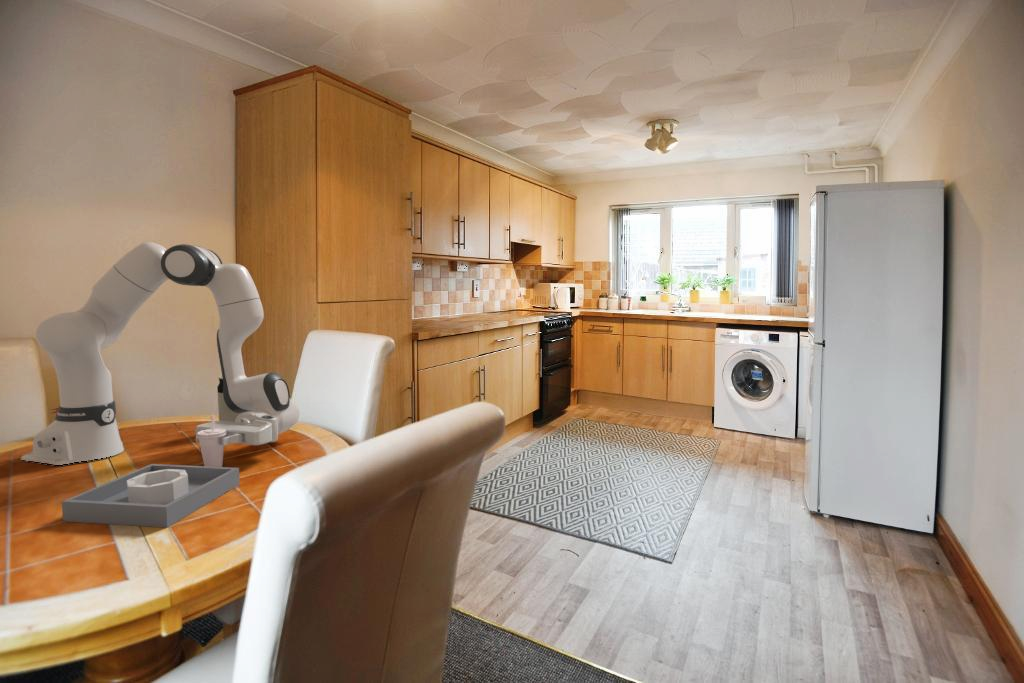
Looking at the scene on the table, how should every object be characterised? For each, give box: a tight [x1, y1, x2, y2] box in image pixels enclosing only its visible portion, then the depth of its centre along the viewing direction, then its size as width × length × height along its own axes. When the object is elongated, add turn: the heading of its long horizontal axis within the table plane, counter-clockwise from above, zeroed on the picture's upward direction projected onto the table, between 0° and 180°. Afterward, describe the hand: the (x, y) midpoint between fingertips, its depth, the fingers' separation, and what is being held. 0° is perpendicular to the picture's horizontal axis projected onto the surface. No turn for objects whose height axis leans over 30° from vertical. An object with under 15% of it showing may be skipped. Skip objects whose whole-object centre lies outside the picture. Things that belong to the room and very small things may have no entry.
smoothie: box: [197, 413, 226, 467], centre depth 130 cm, size 6×6×14 cm
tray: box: [61, 463, 241, 528], centre depth 110 cm, size 22×22×5 cm
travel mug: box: [216, 374, 241, 422], centre depth 164 cm, size 8×8×18 cm
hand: (209, 440), depth 129 cm, fingers closed on smoothie, 6 cm apart
